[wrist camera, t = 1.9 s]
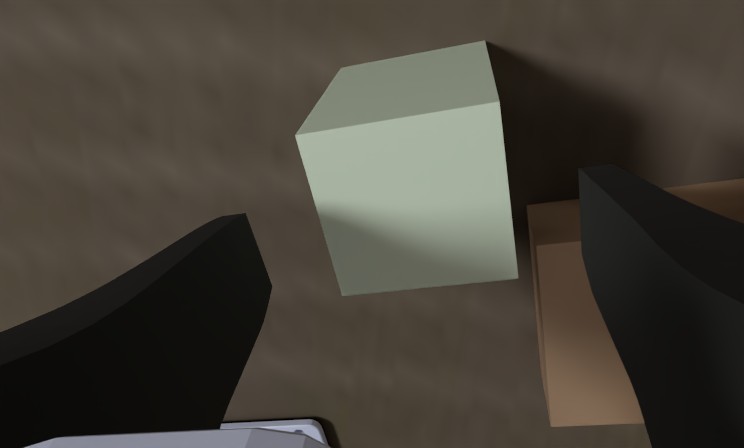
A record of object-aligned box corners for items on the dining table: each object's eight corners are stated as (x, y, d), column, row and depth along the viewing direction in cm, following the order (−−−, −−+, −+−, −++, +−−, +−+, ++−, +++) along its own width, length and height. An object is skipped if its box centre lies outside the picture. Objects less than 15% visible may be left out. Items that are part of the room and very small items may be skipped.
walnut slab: (539, 368, 23) (550, 426, 21) (525, 200, 19) (536, 245, 17) (753, 355, 22) (794, 416, 19) (782, 168, 18) (838, 213, 15)
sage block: (371, 193, 20) (342, 296, 15) (341, 67, 18) (295, 135, 12) (500, 175, 19) (518, 278, 14) (484, 40, 17) (499, 101, 11)
